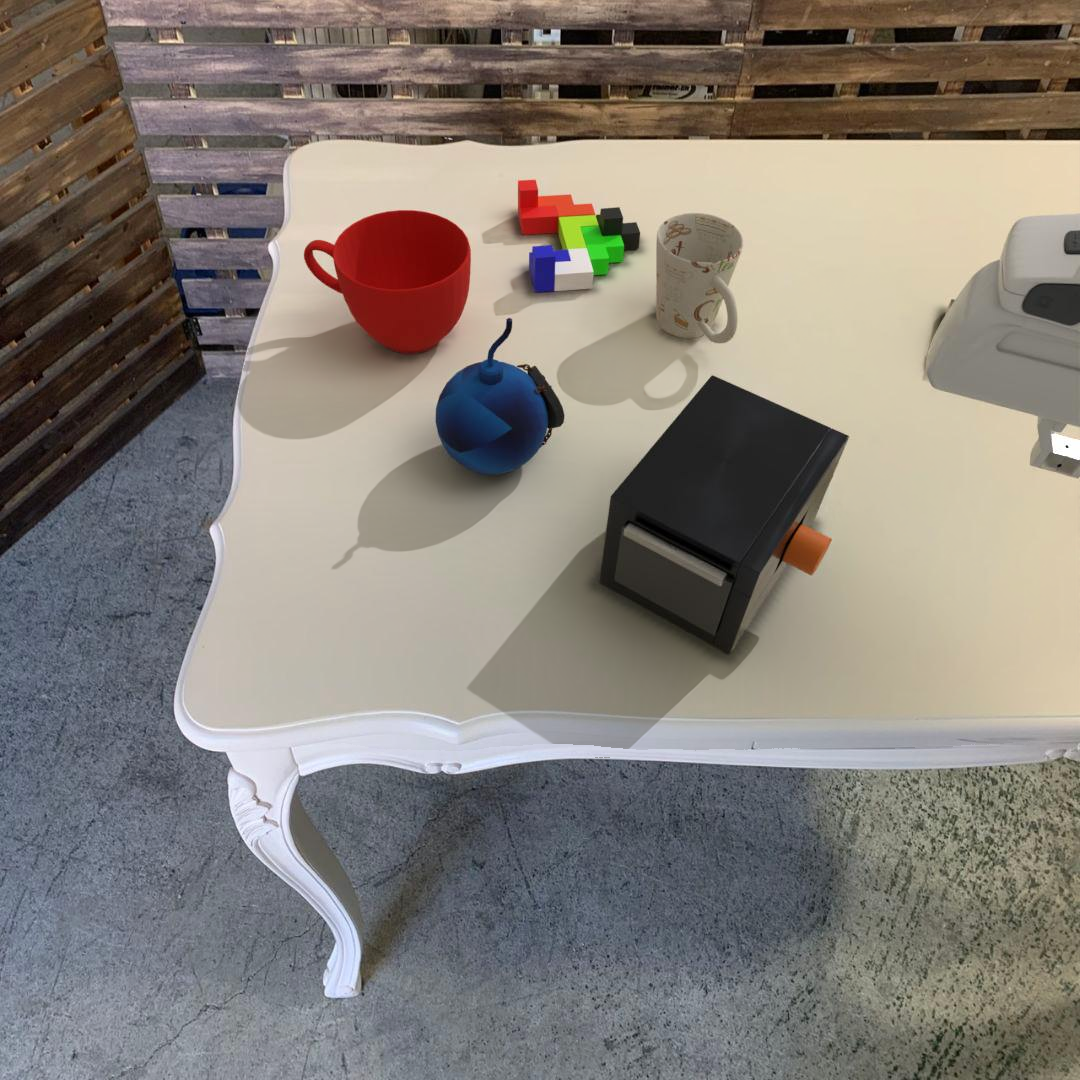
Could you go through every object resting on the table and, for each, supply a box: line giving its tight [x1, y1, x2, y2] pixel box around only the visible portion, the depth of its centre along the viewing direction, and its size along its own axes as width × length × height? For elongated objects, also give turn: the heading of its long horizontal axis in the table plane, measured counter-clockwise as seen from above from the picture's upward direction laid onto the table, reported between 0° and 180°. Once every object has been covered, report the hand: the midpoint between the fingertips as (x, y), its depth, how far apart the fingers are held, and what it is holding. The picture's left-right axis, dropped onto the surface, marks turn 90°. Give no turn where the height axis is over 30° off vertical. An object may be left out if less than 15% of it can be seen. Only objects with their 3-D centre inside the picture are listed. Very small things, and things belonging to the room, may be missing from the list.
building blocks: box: [517, 179, 641, 293], centre depth 100 cm, size 15×13×4 cm
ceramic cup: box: [303, 209, 472, 354], centre depth 89 cm, size 13×17×10 cm
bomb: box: [434, 317, 565, 475], centre depth 76 cm, size 10×11×15 cm
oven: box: [598, 374, 850, 655], centre depth 71 cm, size 12×17×11 cm
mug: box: [655, 212, 744, 344], centre depth 90 cm, size 8×13×10 cm, turn 26°
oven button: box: [782, 525, 832, 576], centre depth 69 cm, size 2×3×3 cm
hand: (1053, 465), depth 58 cm, fingers closed
